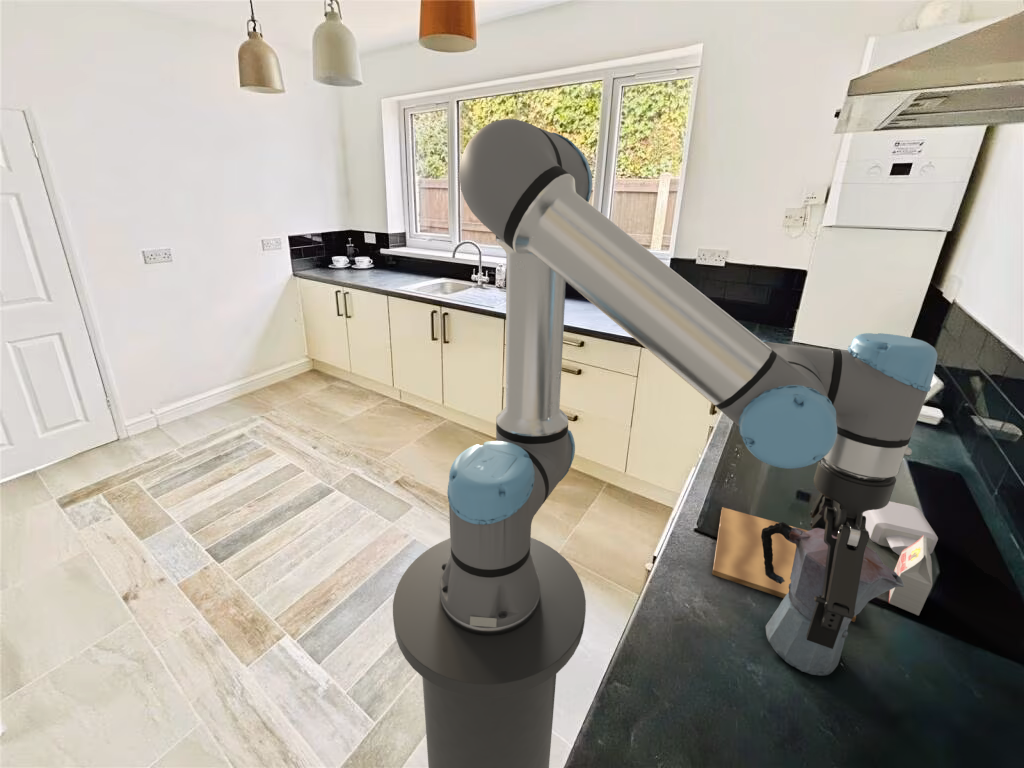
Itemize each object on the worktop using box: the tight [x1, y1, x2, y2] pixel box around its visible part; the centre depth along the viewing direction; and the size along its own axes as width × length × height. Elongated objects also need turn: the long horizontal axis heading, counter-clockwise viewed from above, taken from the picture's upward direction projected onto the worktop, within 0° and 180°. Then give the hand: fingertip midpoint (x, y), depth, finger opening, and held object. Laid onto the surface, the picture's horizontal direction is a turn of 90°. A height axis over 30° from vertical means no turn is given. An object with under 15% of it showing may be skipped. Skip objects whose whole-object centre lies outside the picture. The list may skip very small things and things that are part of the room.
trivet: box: [711, 506, 857, 623], centre depth 81 cm, size 20×20×1 cm
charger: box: [863, 500, 939, 559], centre depth 84 cm, size 5×9×15 cm
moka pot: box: [761, 521, 904, 677], centre depth 61 cm, size 10×15×20 cm, turn 53°
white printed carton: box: [888, 535, 933, 617], centre depth 72 cm, size 4×7×10 cm, turn 140°
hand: (814, 603), depth 61 cm, fingers open, 13 cm apart
